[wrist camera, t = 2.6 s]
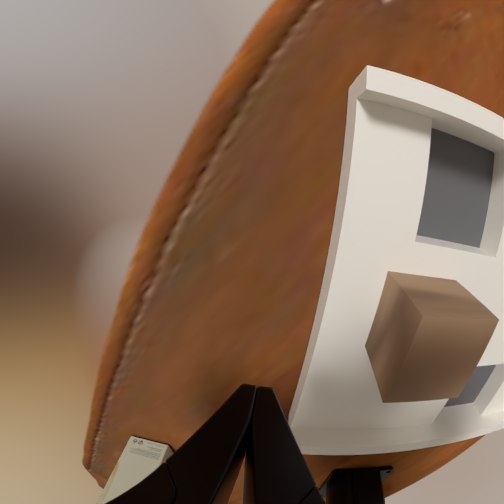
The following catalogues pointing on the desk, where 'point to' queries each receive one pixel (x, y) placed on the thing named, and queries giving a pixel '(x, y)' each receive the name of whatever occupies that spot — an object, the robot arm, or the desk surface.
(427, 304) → the block
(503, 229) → the platform
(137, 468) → the skincare box
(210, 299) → the desk surface
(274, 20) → the desk surface
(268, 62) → the desk surface
